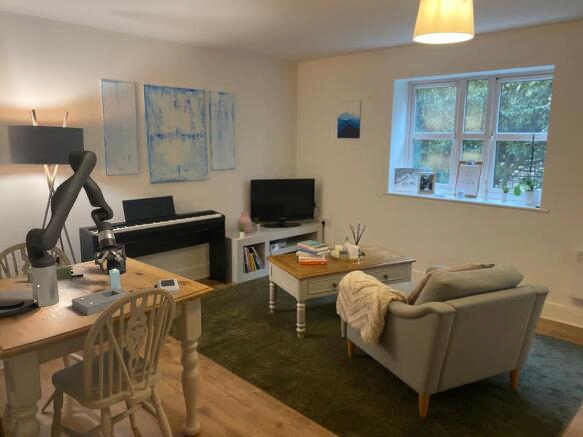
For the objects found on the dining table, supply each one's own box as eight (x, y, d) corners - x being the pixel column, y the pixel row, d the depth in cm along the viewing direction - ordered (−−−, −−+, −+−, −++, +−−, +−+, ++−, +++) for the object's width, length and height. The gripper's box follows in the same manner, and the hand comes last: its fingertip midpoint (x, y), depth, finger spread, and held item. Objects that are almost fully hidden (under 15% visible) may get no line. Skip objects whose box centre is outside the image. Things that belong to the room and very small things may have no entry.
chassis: (87, 315, 184) (87, 306, 183) (72, 306, 192) (71, 298, 192) (132, 301, 199) (131, 293, 198) (116, 294, 208) (115, 286, 207)
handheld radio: (29, 281, 224) (83, 276, 233) (28, 284, 221) (83, 278, 230) (27, 269, 223) (82, 264, 231) (26, 271, 220) (82, 266, 228)
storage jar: (103, 273, 238) (100, 245, 235) (119, 268, 246) (117, 242, 243) (114, 276, 232) (112, 248, 230) (130, 271, 240) (128, 245, 238)
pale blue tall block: (111, 293, 209) (110, 271, 207) (110, 290, 212) (108, 268, 210) (120, 291, 211) (119, 269, 209) (119, 289, 214) (117, 267, 212)
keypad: (176, 276, 223) (179, 286, 209) (176, 283, 224) (179, 294, 210) (156, 278, 220) (157, 288, 206) (157, 285, 221) (158, 296, 207)
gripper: (91, 238, 215) (96, 268, 207) (123, 235, 222) (128, 263, 214) (91, 247, 220) (96, 275, 213) (121, 243, 227) (127, 271, 220)
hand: (112, 269), depth 214 cm, fingers open, 8 cm apart
